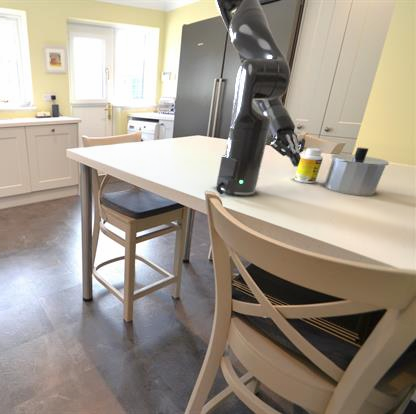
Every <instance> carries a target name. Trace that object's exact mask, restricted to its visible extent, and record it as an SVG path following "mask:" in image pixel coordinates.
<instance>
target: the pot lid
mask: <svg viewBox="0 0 416 414" xmlns="http://www.w3.org/2000/svg"><path fill="white" fill-rule="evenodd" d="M368 152H369V148H368V147H361V146H360V147H356V150H355V153H354V154H343V153H342V154H341V153H339V154H332V155H331V160H332V159H335V160H338V161H342V162H347V163H353V164H360V165H371V166H385V167H386V166H389V164H390V162H389V161H388V160H384V159H381V158H377V157H372V156H367V154H368Z"/></svg>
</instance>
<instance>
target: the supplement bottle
mask: <svg viewBox="0 0 416 414" xmlns="http://www.w3.org/2000/svg"><path fill="white" fill-rule="evenodd" d="M322 152H323V149H321V148H317V147H307V148H306V150H305V153H303V154H301V155H300V157H301V159H300V162H299V165H298V167H297V169H296V173H295V175H294V180H295V181H297V182H299V183H305V184H314V183H315V182H316V181H317V178H318V175H319V172H320V169H321V166H322V163H323V159H324V157H323V156H322Z"/></svg>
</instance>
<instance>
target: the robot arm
mask: <svg viewBox="0 0 416 414" xmlns="http://www.w3.org/2000/svg"><path fill="white" fill-rule="evenodd" d="M214 1H215V5H216V7H217V10H218V12H219V15H220V17H221V19H222V21H223V24H224V26H225V28H226V30H227V32H228V34H229V37H230V40H231V44H232V46H233V48H234V49H235V51H236V52H237V55H238V58H239V61H240V66H239V69H238V71H237V76H236V79H235V80H236V81H235V87H234V95H233V102H232V109H231V120H230V127H229V132H228V137H227V143H226V148H225V153H224V154H222V156H221V159H220V164H219V169H218V176H217V178H216V179H217V180H216V189H215V190H216V192H217V193H218V194H219V195H223V194H224V193H226V194H228V195H231V196H232V195H234V196H252V195H255V194H256V190H257V185H258V180H259V176H260V172H261V167H262V163H263V159H264V154H265V149H266V145H267V142H268V137H270V138H271V139H272V140H273V141H272V142H271V143H270V145H269V146H270V147H271V148H273V149H274V150H275V152H277V153H279V155H281V156H282V157H285V156H286V157H287V158H288V159H289V160H290V163H291V164H292V166H293V167H294V168H296V167H297V168H298V165H299V162H300V159H301V155H300V154H301V153H302V152H304V149H305V145H306V139H305V138H301V139H300V138H299V137H298V135H297V133H296V132H295V129H296V124H295V123H294V121H293V119H292V117H291V115H290V114H289V111H288V110H287V108H286V107H285V105H284V103H283V102H282V100H281V97H282V96H284V95H285V93H286V92H287V90H288V89H289V86H290V82H291V69H290V64H289V62H288V60H287V59H286V56H285V55H284V53H283V52H282V51H281V49H280V47H279V46H278V44H277V42H276V40H275V38H274V36H273V33H272V31H271V29H270V25H269V22H268V19H267V16H266V14H265V11H264V10H263V7H262V5H261V3H260V0H214ZM233 12H234V13H233ZM254 105H255V106H256V107H257V109H256V108H255V107H254Z"/></svg>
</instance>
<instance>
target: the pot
mask: <svg viewBox="0 0 416 414" xmlns="http://www.w3.org/2000/svg"><path fill="white" fill-rule="evenodd" d="M385 169H386V166H371V165H360V164H353V163H347V162H342V161H338V160H335V159H332V158H331V162H330V165H329V169H328V171H327V174H326V178H325V181H324V187H325V188H326V189H329V190H330V191H333V192H334V191H335V192H338V193H342V194H345V195H353V196H360V197H361V196H362V197H365V196H373V195H374V194H375V192H376V191H377V188H378V186H379V183H380V181H381V178H382V177H383V174H384V170H385Z"/></svg>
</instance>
